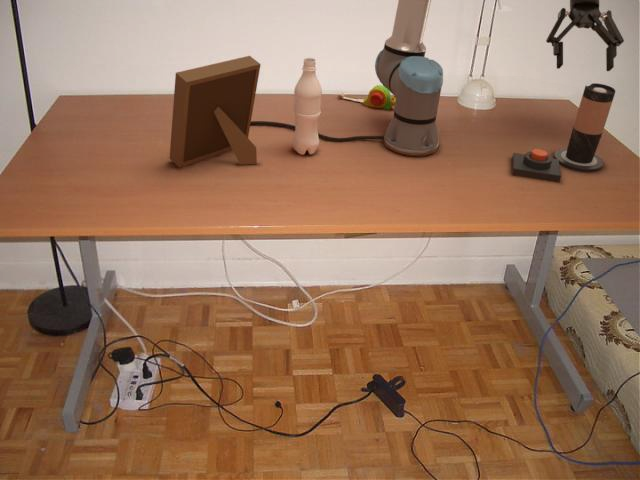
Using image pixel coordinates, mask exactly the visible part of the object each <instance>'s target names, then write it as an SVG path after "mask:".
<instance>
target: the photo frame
mask: <svg viewBox="0 0 640 480" xmlns="http://www.w3.org/2000/svg"><path fill="white" fill-rule="evenodd" d="M260 70H261V63H260V62H259V61H258V60H256V59H255V58H254V57H252V56H251V55H247V56H242V57H238V58H234V59H229V60H225V61H221V62H220V61H219V62H216V63H211V64H208V65H203V66H199V67H193V68H191V69H185V70H182V71H181V70H180V71H177V72H175V77H174V78H175V79H174V89H173V90H174V91H173V103H172V104H173V106H172V118H171V132H170V147H169V160H171V162H172V163H174V164H175V166H177V167H178V168H179V169H180V168H183V167H187V166H190V165H192V164H195V163H198V162H201V161H204V160H207V159H211V158H213V157H216V156H220V155H223V154H225V153H228V152H231V151H233V154H234V155H235V158H236V160H237V162H238V164H239V165H240V166H241V165H242V166H243V165H256V164H258V158H257V154H258V153H257V146H256V145H255V144H254V143H253V142H252V141H251V140H250V138H249V136H250V135H249V134H250V130H251V129H250V128H251V125H250V124H251V121H252V117H253V112H254V106H255V100H256V95H257V88H258V83H259V76H260Z"/></svg>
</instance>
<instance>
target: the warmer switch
mask: <svg viewBox="0 0 640 480" xmlns="http://www.w3.org/2000/svg"><path fill="white" fill-rule="evenodd" d="M531 153H532V150H530V151H527V152H525V153H518V152H513V153H512V157H511V176H515V177H521V178H528V179H535V180H541V181H548V182H552V183H553V182H554V183H560V181H561V178H562V174H561V173H562V172H561V165H560V164H559V160H558V159H554V158H553V157H552V156H550V155H549V154H547V158H546V160H545V161H537V160H534V159H532V158H531Z"/></svg>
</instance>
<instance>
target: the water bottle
mask: <svg viewBox="0 0 640 480" xmlns="http://www.w3.org/2000/svg"><path fill="white" fill-rule="evenodd" d="M316 63H317V61H316V59H315V58H311V57H307V58H306V57H305V58H304V59H303V65H302V68H301V70H302V74H301V75H300V77H299V79H298V80H297V82H296V84H295V87H294V90H293V93H294V99H293V100H294V101H293V113H294V118H295V119H294V121H295V126H296V127H295V129H294V134H293V138H292V140H291V141H292V142H291V143H292V147H293V149H294V151H296V153H298V154H300V155H303V156H304V155H305V154H306V152H308V154H309V155H313V154H315V153H316V151H317V150H318V147H319V144H320V137H318V133H319V132H318V130H319V129H318V124H319V118H320V116H321V115H322V111H321V109H322V95H323V89H322V88H323V87H322V86H321V84H320V81H319V79H318V77H317V74H316V71H317V65H316Z"/></svg>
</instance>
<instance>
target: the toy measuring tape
mask: <svg viewBox="0 0 640 480" xmlns="http://www.w3.org/2000/svg"><path fill="white" fill-rule="evenodd" d="M338 98H339V99H340V100H341V99H344V100H349V101H353V102H359V103H361V104H362V105H363V106H366V107H371V108H375V109H382V110H386V111H390V110H391V109H392V108H393V107H395V100H396V97H395V96H394V95H393V96H392V97H391V92H390V91H389V90H388V89H387V88H386V87H384V86H383V84H378V85H377V84H376V85H375V86H374V87H372V88H371V89H370V91H368V95H367V97H366V98H365V99H364V98H362V99H361V98H352V97H347V96H346V94H345V93H344V92H341V93H340V94H339V95H338Z"/></svg>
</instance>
